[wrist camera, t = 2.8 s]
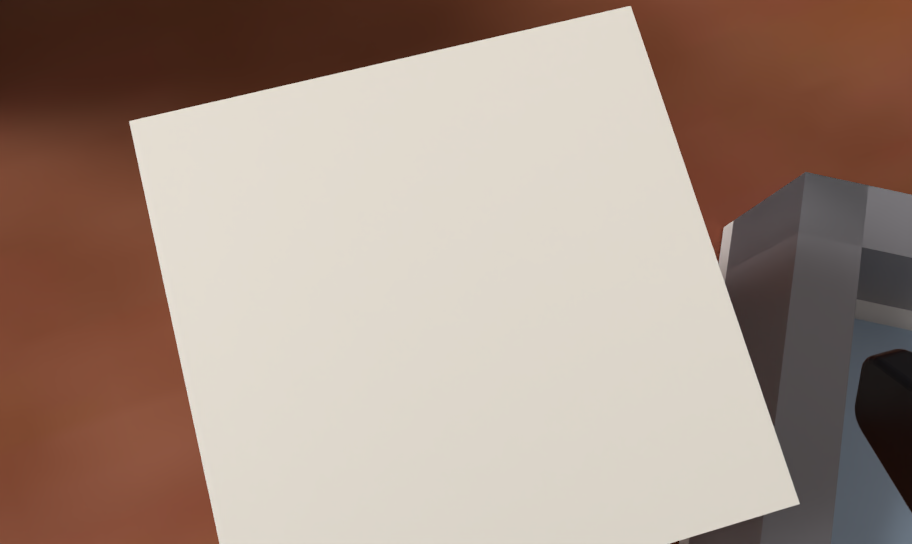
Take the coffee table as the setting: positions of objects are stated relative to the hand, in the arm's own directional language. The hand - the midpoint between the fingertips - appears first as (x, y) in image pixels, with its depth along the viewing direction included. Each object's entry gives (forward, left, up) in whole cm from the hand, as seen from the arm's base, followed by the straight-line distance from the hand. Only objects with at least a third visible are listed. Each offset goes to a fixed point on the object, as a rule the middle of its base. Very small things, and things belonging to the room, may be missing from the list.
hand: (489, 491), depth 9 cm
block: (+2, +1, -9) cm, 9 cm away
